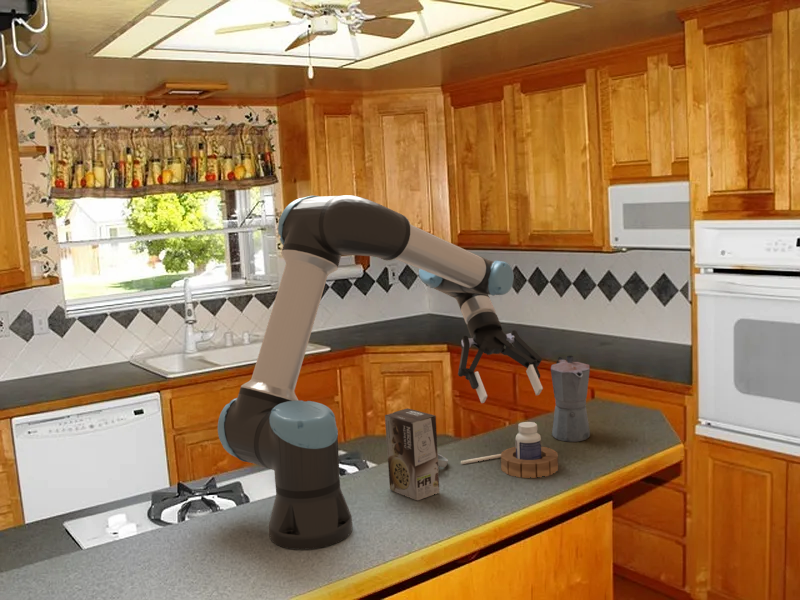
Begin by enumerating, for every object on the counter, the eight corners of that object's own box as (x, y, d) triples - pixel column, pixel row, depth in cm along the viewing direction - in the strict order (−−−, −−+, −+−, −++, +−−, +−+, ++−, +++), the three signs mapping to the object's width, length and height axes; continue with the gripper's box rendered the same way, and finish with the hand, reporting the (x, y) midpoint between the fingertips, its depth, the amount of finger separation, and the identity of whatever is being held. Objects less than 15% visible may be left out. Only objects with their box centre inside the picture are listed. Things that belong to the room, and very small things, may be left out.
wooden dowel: (462, 464, 183) (462, 461, 183) (460, 463, 183) (460, 460, 183) (526, 453, 188) (526, 450, 188) (525, 452, 189) (525, 449, 189)
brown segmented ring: (517, 481, 171) (517, 467, 171) (492, 464, 182) (491, 450, 182) (568, 471, 175) (568, 458, 175) (540, 455, 186) (540, 442, 186)
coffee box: (441, 492, 167) (437, 415, 165) (416, 501, 163) (412, 422, 161) (412, 481, 174) (408, 407, 172) (388, 489, 170) (383, 413, 168)
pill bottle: (547, 468, 178) (545, 424, 176) (527, 474, 175) (525, 429, 174) (531, 462, 182) (529, 419, 181) (511, 467, 180) (509, 423, 178)
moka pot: (564, 448, 190) (562, 362, 188) (538, 429, 205) (535, 350, 202) (602, 442, 193) (601, 358, 190) (573, 424, 207) (571, 346, 205)
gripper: (523, 323, 203) (556, 397, 191) (428, 334, 195) (456, 412, 183) (533, 304, 197) (567, 379, 185) (436, 315, 189) (464, 393, 177)
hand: (512, 395), depth 184 cm, fingers open, 13 cm apart
